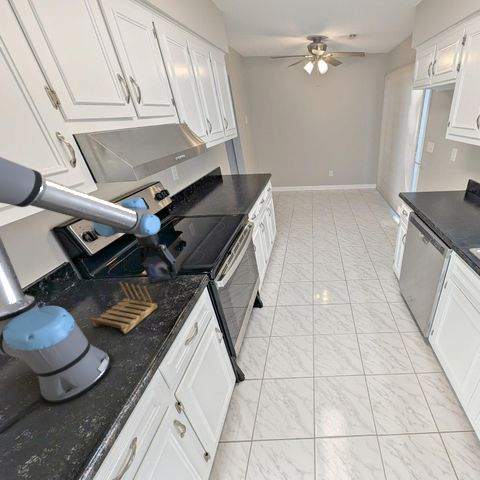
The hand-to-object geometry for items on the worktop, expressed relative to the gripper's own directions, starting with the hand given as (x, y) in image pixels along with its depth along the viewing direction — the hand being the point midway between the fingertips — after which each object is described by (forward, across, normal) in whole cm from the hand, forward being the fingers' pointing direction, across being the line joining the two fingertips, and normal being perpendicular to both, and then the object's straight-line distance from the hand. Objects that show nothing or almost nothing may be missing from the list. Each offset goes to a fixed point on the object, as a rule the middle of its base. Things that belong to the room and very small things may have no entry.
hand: (163, 275), depth 118 cm
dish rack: (+1, -6, +24) cm, 25 cm away
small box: (+2, 0, 0) cm, 2 cm away
